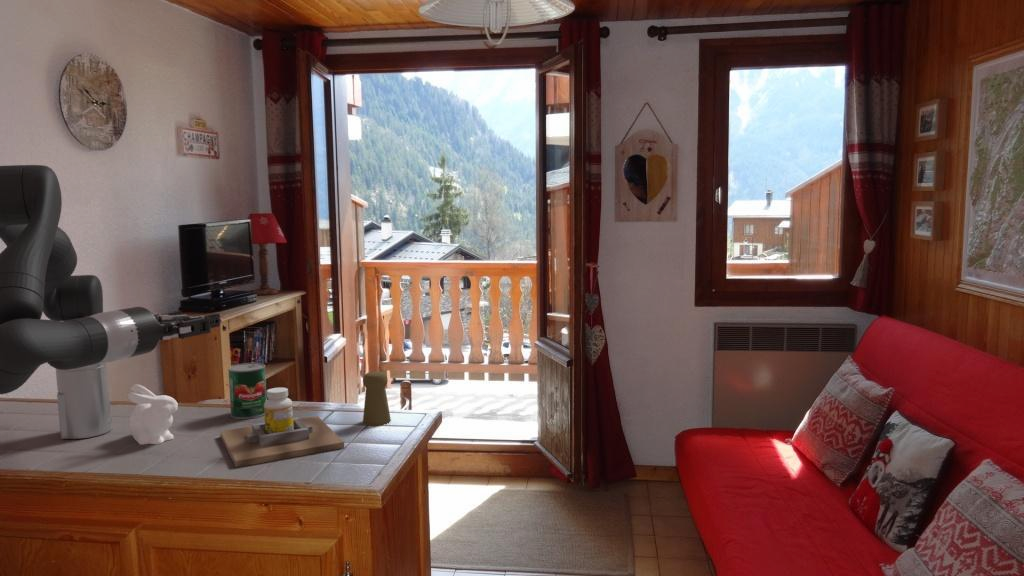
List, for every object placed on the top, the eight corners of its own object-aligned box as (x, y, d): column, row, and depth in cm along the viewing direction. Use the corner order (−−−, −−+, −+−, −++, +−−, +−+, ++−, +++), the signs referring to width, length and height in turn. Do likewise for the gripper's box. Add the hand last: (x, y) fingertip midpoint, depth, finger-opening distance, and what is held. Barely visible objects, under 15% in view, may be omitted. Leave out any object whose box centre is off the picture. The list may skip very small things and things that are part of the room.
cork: (384, 426, 155) (383, 376, 153) (358, 425, 156) (356, 375, 155) (394, 418, 161) (393, 369, 159) (369, 416, 162) (367, 368, 160)
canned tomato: (245, 421, 160) (242, 372, 159) (223, 415, 164) (220, 368, 163) (275, 412, 166) (272, 365, 165) (252, 407, 171) (250, 361, 169)
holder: (235, 467, 132) (234, 450, 132) (220, 436, 149) (219, 421, 149) (344, 447, 142) (343, 432, 141) (318, 421, 159) (317, 407, 159)
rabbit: (185, 439, 148) (181, 382, 146) (138, 452, 141) (133, 392, 139) (156, 428, 155) (152, 374, 154) (110, 440, 148) (105, 383, 147)
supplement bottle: (295, 438, 144) (293, 391, 143) (267, 442, 142) (264, 394, 140) (292, 430, 149) (289, 385, 147) (264, 434, 146) (261, 388, 145)
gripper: (150, 312, 108) (230, 298, 123) (82, 308, 113) (167, 295, 128) (154, 362, 109) (233, 342, 123) (86, 355, 114) (170, 337, 129)
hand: (199, 318), depth 126 cm, fingers open, 8 cm apart
